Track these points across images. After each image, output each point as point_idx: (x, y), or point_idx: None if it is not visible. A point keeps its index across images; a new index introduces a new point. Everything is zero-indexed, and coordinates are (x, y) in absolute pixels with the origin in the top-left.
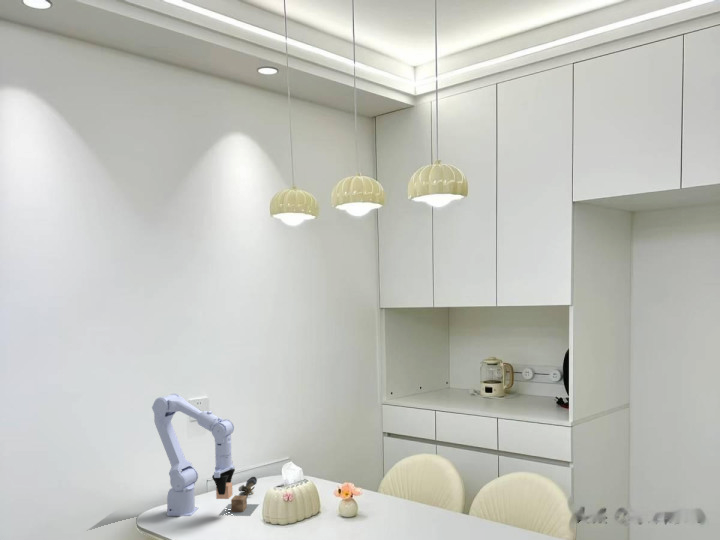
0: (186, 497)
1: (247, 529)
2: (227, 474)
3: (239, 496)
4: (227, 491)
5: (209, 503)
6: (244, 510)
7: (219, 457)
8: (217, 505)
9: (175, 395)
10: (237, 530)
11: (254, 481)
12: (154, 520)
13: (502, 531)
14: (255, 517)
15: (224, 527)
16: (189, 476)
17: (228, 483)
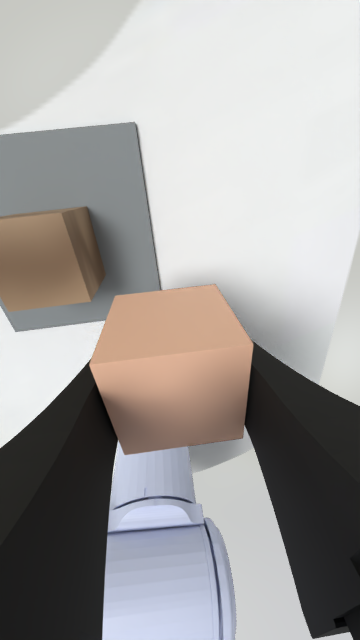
0: (184, 468)
1: (349, 37)
2: (69, 532)
3: (11, 273)
4: (234, 319)
5: (44, 398)
6: (62, 208)
7: None
8: (50, 366)
9: None
10: (349, 117)
11: None
12: (221, 447)
13: None
14: (138, 66)
15: (294, 220)
16: (167, 604)
17: (139, 386)
